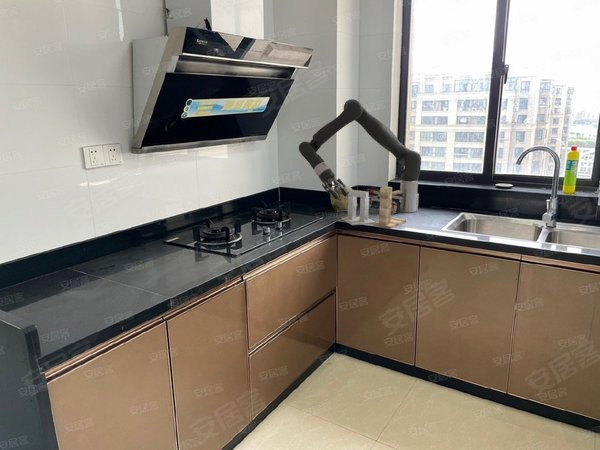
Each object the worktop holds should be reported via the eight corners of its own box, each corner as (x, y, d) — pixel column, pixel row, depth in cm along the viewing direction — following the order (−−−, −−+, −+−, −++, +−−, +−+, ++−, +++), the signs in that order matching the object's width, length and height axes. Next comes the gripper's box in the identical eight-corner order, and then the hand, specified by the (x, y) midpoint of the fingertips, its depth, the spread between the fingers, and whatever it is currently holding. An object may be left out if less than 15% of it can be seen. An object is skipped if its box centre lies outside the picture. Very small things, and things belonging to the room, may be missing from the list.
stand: (390, 219, 229) (392, 182, 224) (406, 222, 223) (408, 184, 219) (373, 226, 216) (374, 187, 211) (389, 229, 211) (391, 189, 206)
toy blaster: (398, 220, 240) (405, 193, 237) (360, 213, 240) (366, 186, 236) (396, 218, 244) (403, 192, 240) (359, 211, 243) (365, 185, 240)
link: (347, 219, 227) (348, 190, 224) (351, 217, 230) (352, 189, 226) (364, 222, 221) (365, 192, 217) (368, 220, 224) (369, 191, 220)
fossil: (327, 211, 248) (328, 184, 244) (347, 205, 261) (348, 180, 257) (340, 213, 242) (340, 186, 238) (360, 208, 255) (360, 182, 251)
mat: (364, 217, 234) (364, 216, 233) (375, 223, 222) (376, 221, 221) (341, 219, 230) (341, 218, 229) (352, 225, 218) (352, 224, 217)
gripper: (320, 169, 226) (338, 194, 221) (336, 166, 236) (354, 190, 232) (311, 179, 230) (329, 203, 226) (328, 175, 241) (345, 199, 237)
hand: (342, 196), depth 229 cm, fingers open, 8 cm apart
